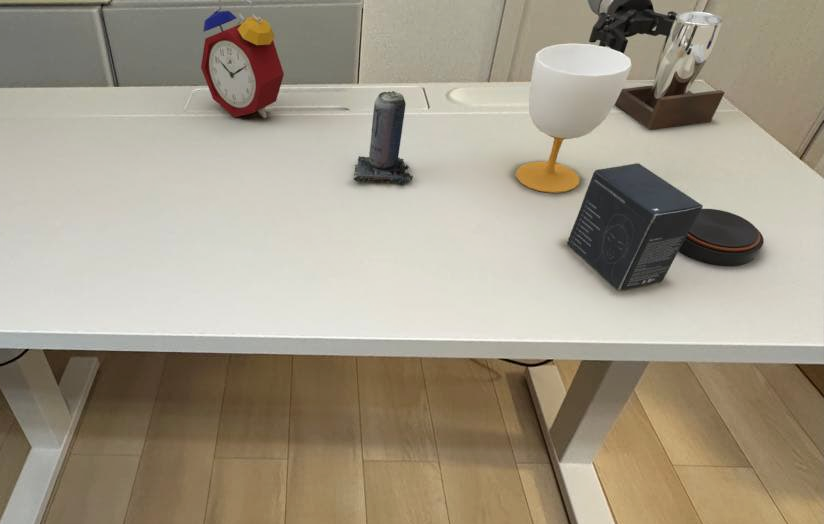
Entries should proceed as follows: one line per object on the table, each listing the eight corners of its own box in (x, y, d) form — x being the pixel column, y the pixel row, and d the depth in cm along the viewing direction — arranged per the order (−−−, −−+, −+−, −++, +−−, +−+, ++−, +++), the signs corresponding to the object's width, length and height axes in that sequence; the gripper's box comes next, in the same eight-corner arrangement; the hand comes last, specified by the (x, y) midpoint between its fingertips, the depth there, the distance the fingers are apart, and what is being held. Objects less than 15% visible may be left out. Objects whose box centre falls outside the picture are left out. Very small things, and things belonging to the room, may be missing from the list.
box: (665, 281, 70) (706, 205, 63) (617, 292, 69) (653, 216, 62) (608, 233, 77) (639, 160, 70) (564, 243, 76) (590, 169, 69)
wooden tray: (669, 96, 106) (681, 68, 103) (710, 122, 99) (725, 92, 95) (612, 103, 105) (622, 74, 102) (649, 129, 98) (662, 99, 94)
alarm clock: (205, 108, 112) (189, -11, 98) (236, 93, 116) (225, -23, 102) (263, 127, 105) (254, 2, 90) (294, 110, 109) (290, -12, 95)
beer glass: (688, 121, 99) (732, 24, 88) (644, 120, 100) (682, 24, 89) (675, 104, 104) (715, 10, 93) (633, 103, 105) (668, 10, 94)
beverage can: (403, 160, 94) (411, 84, 85) (414, 185, 88) (424, 105, 80) (346, 164, 94) (349, 88, 85) (354, 189, 88) (358, 110, 80)
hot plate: (719, 216, 79) (728, 200, 77) (775, 259, 72) (786, 243, 70) (650, 226, 78) (658, 210, 77) (700, 271, 71) (710, 255, 69)
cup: (513, 197, 85) (544, 76, 73) (501, 158, 93) (527, 43, 81) (598, 199, 83) (645, 75, 71) (578, 159, 92) (617, 42, 80)
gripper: (684, 30, 118) (730, 70, 103) (555, 32, 120) (582, 71, 105) (701, -12, 112) (753, 23, 97) (566, -9, 115) (596, 26, 100)
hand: (664, 48), depth 101 cm, fingers open, 13 cm apart
